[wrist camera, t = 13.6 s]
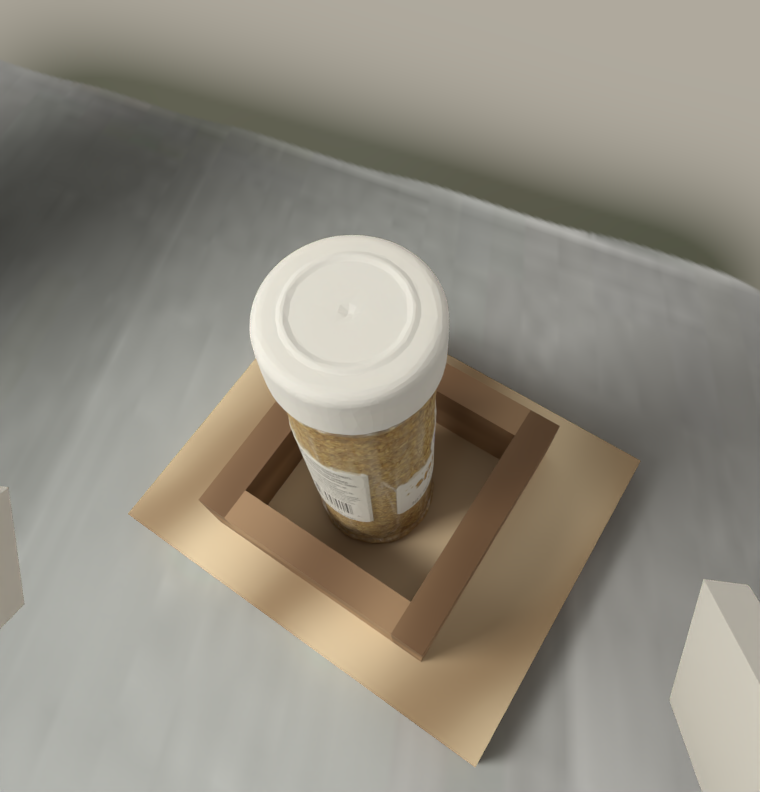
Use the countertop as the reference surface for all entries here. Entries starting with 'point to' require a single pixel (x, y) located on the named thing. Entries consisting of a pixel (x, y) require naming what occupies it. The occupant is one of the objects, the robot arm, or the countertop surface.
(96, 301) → the countertop surface
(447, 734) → the socket board
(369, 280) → the sprinkles bottle
